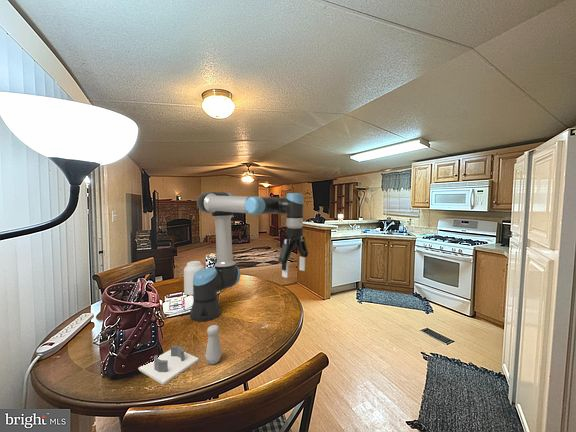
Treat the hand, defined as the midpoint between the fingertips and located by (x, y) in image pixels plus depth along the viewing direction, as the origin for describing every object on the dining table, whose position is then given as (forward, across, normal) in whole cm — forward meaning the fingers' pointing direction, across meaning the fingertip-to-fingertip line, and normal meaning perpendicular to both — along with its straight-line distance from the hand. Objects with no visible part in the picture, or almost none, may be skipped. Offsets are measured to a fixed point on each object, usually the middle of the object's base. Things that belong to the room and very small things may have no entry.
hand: (294, 273), depth 110 cm
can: (+27, 0, +80) cm, 84 cm away
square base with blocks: (+27, -47, +22) cm, 58 cm away
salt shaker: (+27, -36, +11) cm, 46 cm away
